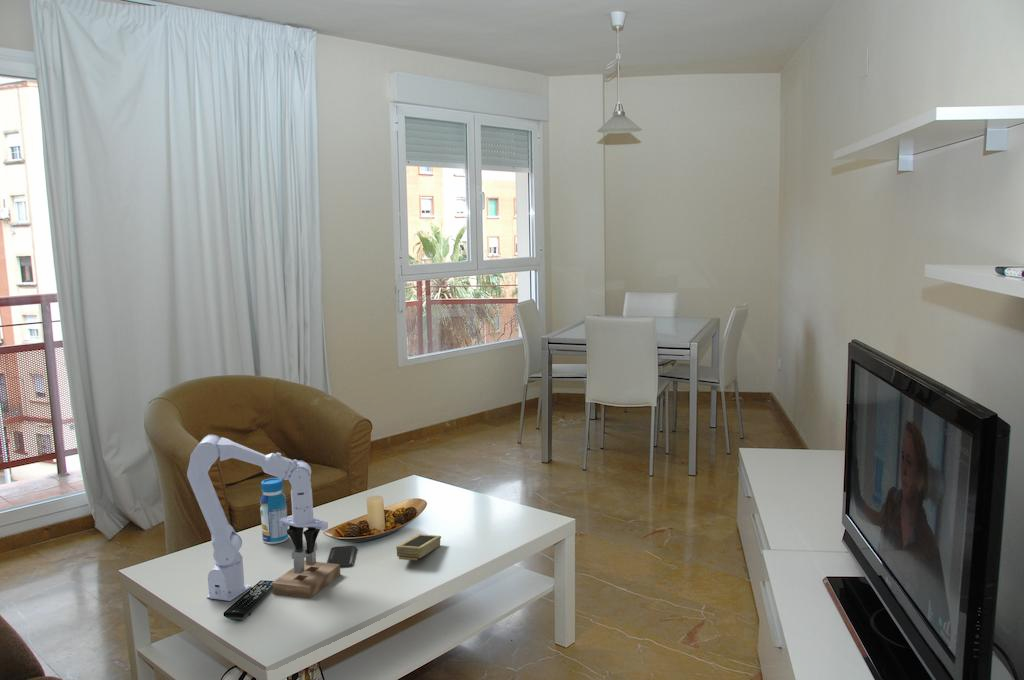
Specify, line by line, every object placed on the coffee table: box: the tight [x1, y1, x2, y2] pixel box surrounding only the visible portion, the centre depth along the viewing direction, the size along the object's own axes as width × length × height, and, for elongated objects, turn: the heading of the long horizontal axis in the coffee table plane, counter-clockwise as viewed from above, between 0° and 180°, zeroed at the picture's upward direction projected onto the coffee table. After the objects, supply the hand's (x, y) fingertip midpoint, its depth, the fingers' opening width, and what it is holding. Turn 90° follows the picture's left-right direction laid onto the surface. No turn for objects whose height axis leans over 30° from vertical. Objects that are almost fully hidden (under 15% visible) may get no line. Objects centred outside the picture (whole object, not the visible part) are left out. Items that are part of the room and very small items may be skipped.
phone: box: [326, 545, 357, 569], centre depth 242 cm, size 8×1×15 cm
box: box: [395, 533, 442, 561], centre depth 243 cm, size 8×22×5 cm, turn 168°
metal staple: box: [291, 542, 318, 574], centre depth 223 cm, size 8×3×6 cm, turn 162°
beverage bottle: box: [259, 477, 290, 545], centre depth 257 cm, size 8×8×20 cm
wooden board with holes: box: [271, 559, 341, 599], centre depth 224 cm, size 16×12×3 cm
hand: (305, 552), depth 223 cm, fingers closed on metal staple, 3 cm apart
